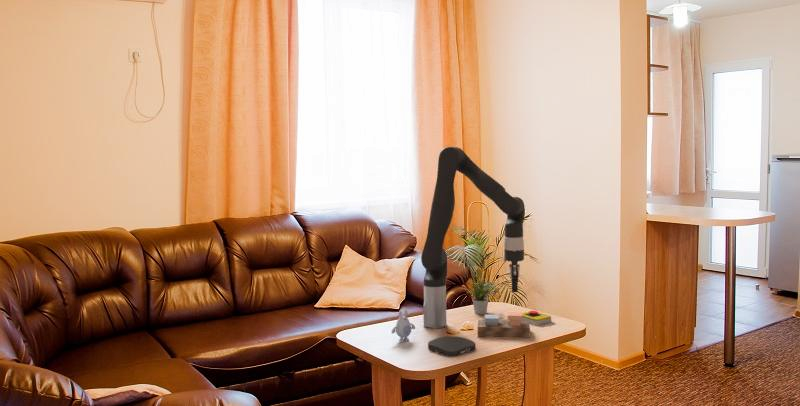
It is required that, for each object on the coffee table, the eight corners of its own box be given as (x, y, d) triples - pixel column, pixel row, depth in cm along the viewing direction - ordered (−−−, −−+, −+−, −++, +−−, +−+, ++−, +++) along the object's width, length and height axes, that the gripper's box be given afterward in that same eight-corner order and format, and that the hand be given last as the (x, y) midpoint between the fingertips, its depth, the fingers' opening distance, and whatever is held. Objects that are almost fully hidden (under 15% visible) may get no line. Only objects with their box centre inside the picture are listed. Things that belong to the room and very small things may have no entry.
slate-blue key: (484, 329, 230) (484, 318, 230) (484, 324, 236) (484, 314, 235) (499, 329, 229) (499, 318, 229) (499, 325, 235) (498, 314, 234)
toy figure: (396, 345, 220) (395, 314, 219) (387, 341, 225) (387, 311, 224) (419, 340, 225) (419, 310, 224) (411, 336, 231) (410, 306, 230)
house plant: (500, 317, 255) (500, 280, 254) (469, 318, 255) (468, 281, 253) (494, 309, 269) (494, 274, 268) (464, 309, 269) (464, 274, 268)
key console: (477, 336, 229) (477, 326, 228) (478, 329, 238) (478, 319, 238) (529, 338, 225) (529, 328, 225) (528, 330, 235) (528, 320, 235)
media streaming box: (452, 340, 226) (452, 333, 225) (480, 350, 214) (480, 342, 214) (423, 349, 216) (423, 341, 216) (451, 359, 205) (451, 351, 205)
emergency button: (530, 307, 256) (556, 314, 244) (530, 316, 257) (556, 324, 244) (514, 310, 251) (540, 318, 239) (514, 320, 252) (540, 328, 239)
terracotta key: (507, 326, 229) (507, 315, 228) (507, 322, 234) (507, 311, 234) (522, 326, 228) (522, 315, 227) (521, 322, 233) (521, 312, 233)
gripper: (504, 245, 236) (504, 288, 237) (504, 250, 223) (505, 295, 224) (523, 245, 234) (523, 288, 236) (524, 250, 221) (525, 295, 223)
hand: (514, 291), depth 230 cm, fingers closed
